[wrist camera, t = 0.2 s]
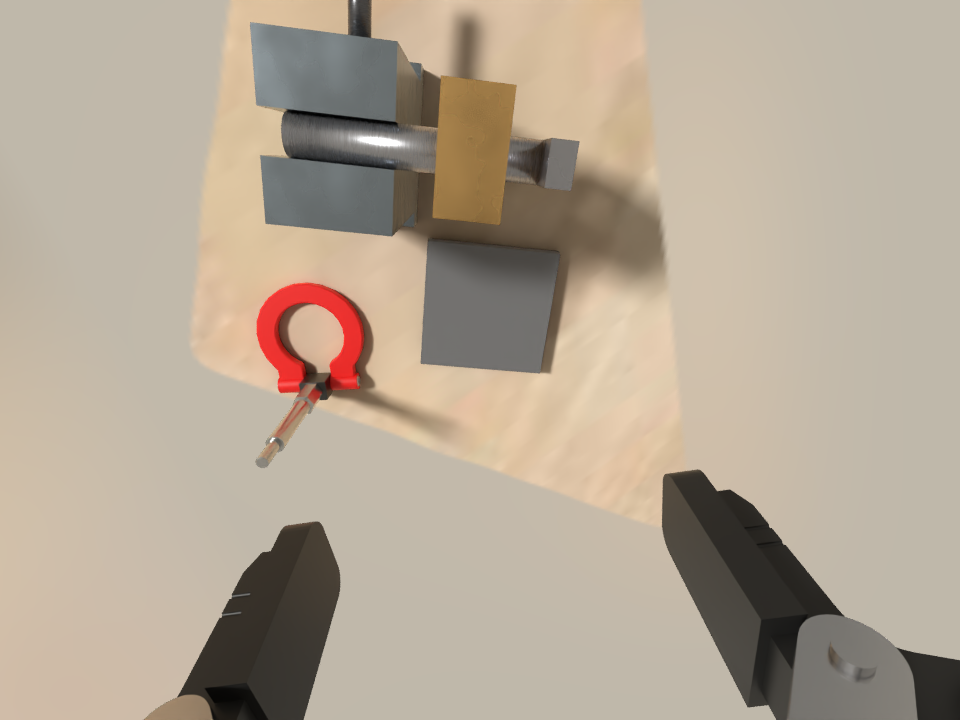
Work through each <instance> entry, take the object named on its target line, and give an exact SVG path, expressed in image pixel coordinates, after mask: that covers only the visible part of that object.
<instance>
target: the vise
mask: <svg viewBox="0 0 960 720" xmlns="http://www.w3.org/2000/svg"><path fill="white" fill-rule="evenodd" d="M250 29H251V42H252V54H253V67H254V80H255V93H256V105H258V106H261V107H265V108H269V109H273V110H277V111H281V112H284V114H283V118H282V125H281V133H282V142H283V146H284V150H285V152H286V154H287V156H271V155H260V157H261V170H262V183H263V196H264V209H265V222H266V224H274V225H284V226H294V227H304V228H314V229H324V230H334V231H344V232H354V233H364V234H374V235H383V236H393V235H394V234H395V233H396V232H397V231H398V230H399V229H400V227H401V226H408V227H414V226H415V225H416V223H417V202H418V182H419V172H423V173H432V174H435V166H436V150H437V133H438V128H434V127H426V126H421V119H422V98H423V77H424V69H423V66H422V64H419V63H412V62H409V61H408V59H407V57H406V55H405V54H404V52H403V50H402V48H401V47H400V45H399V43H398V41H390V40H382V39H375V38H371V0H348V35H344V34H336V33H329V32H321V31H313V30H306V29H298V28H290V27H283V26H275V25H267V24H260V23H252V22H250ZM578 147H579V141H572V140H564V139H556V138H550V139H546V140H536V139H527V138H519V137H510V145H509V153H508V162H507V170H506V179H505V182H513V183H522V184H531V185H537V186H540V187H543V188H549V189H558V190H567V191H571V188H572V182H573V176H574V170H575V165H576V159H577V153H578Z"/></svg>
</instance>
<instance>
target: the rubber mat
mask: <svg viewBox="0 0 960 720" xmlns="http://www.w3.org/2000/svg"><path fill="white" fill-rule="evenodd" d="M559 259H560V253H559V252H558V251H550V250H540V249H530V248H520V247H510V246H500V245H490V244H480V243H471V242H461V241H451V240H441V239H431V238H429V239H428V247H427V264H426V281H425V298H424V316H423V333H422V350H421V364H431V365H443V366H455V367H467V368H480V369H492V370H504V371H516V372H529V373H540V370H541V364H542V358H543V352H544V347H545V341H546V335H547V329H548V323H549V317H550V312H551V306H552V300H553V294H554V288H555V283H556V277H557V271H558V265H559Z"/></svg>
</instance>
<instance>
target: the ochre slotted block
mask: <svg viewBox="0 0 960 720" xmlns="http://www.w3.org/2000/svg"><path fill="white" fill-rule="evenodd" d="M515 94H516V85H512V84H505V83H497V82H489V81H481V80H473V79H465V78H457V77H449V76H441V84H440V100H439V117H438V133H437V150H436V166H435V183H434V199H433V216H432V218H439V219H449V220H458V221H468V222H478V223H487V224H497V225H500V221H501V213H502V204H503V196H504V187H505V179H506V170H507V162H508V153H509V145H510V136H511V128H512V119H513V111H514V102H515Z"/></svg>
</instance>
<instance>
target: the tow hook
mask: <svg viewBox="0 0 960 720" xmlns="http://www.w3.org/2000/svg"><path fill="white" fill-rule="evenodd" d="M300 303H312V304H317V305H319V306H322V307H324V308H326V309H327V310H329V311H330V312H331V313H333V314H334V316H335V317H336V318H337V319H338V320H339V322H340V324H341V326H342V328H343V333H344V345H343V348H342V350H341V353H340V354H339V355H338V356H337V357H336V358H335V359H333V360H332V361H331V363H330V371H331V373H315V374H307V375H306V370H305V365H304V363H303V362H302V361H299V360H297V359H296V358H295V357H293V356H292V355H290V354H289V352H288V351H287V350H286V349H285V348H284V346H283V344H282V343H281V341H280V337H279V333H278V330H279V322H280V319H281V316H282V315H283V313H284V312H285V310H286V309H288V308H289V307H291V306H293V305H296V304H300ZM257 337H258V341H259V344H260V348H261V349H262V351H263V353H264V354H265V356H266V358H267V359H268V360H269V362H270V363H271V364H272V365H273V366H274V367H275V368H276V369H277V370H278V372H279V377H280V378H279V379H278V389H279V392H280V393H289V392H300V393H299V394H298V395H297V397H296V398H295V401H294V403H293V406H292V408H291V409H290V410H289V412H288V413H287V414H286V416H285V417H284V418H283V420H282V421H281V422H280V423H279V425H278V426H277V427H276V429H275V430H274V431H273V433H272V434H271V435H270V436H269V438H268V439H267V441H266V447H265V448H264V450H263V451H262V452H261V454H260V455H259V457H258V458H257V459H256V465H257V466H258V467H260V468H265V467H267V466H268V465H269V463H270V462H271V460H272V459H273V458H274V456H275V455H276V453H277V452H280V451H282V450H283V449H284V447H285V446H286V444H287V443H288V441H289V440H290V438H291V437H292V436H293V434H294V433H295V431H296V430H297V428H298V427H299V425H300V424H301V422H302V420H303V419H304V418H305V416H306V415H307V414H310V413H311V412H312V410H313V409H314V407H315V406H316V404H317V403H318V401H319V400H327V399H328V398H329V396H330V395H331V393H332V391H333V390H347V389H359V388H360V382H361V381H360V375H359V373H356V368H355V363H356V362H357V361H358V359H359V357H360V354H361V352H362V349H363V343H364V331H363V326H362V322H361V319H360V317H359V315H358V313H357V311H356V309H355V308H354V307H353V306H352V305H351V303H350V302H349V301H348V300H347V299H346V298H345V297H343V296H342V295H341V294H339V293H338V292H337V291H335V290H333V289H331V288H328V287H326V286H323V285H320V284H314V283H297V284H292V285H289V286H287V287H284V288H282V289H280V290H278V291H277V292H276V293H274V294H273V295H272V296H270V297H269V298H268V299H267V300H266V302H265V303H264V305H263V306H262V308H261V309H260V313H259V316H258V319H257Z"/></svg>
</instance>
